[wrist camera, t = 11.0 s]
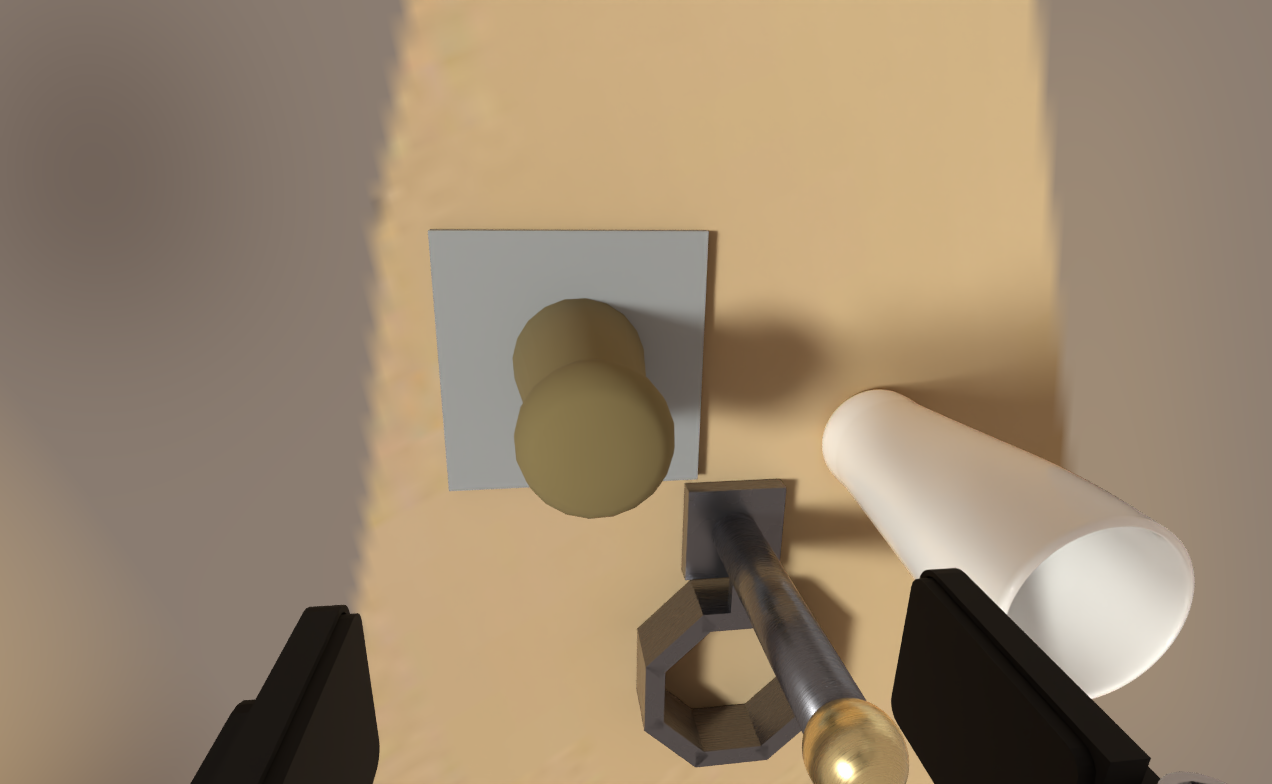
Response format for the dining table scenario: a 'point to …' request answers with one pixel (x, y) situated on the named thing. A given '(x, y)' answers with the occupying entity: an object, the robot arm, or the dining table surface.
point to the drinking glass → (1016, 535)
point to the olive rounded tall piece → (588, 411)
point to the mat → (535, 278)
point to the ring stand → (790, 636)
